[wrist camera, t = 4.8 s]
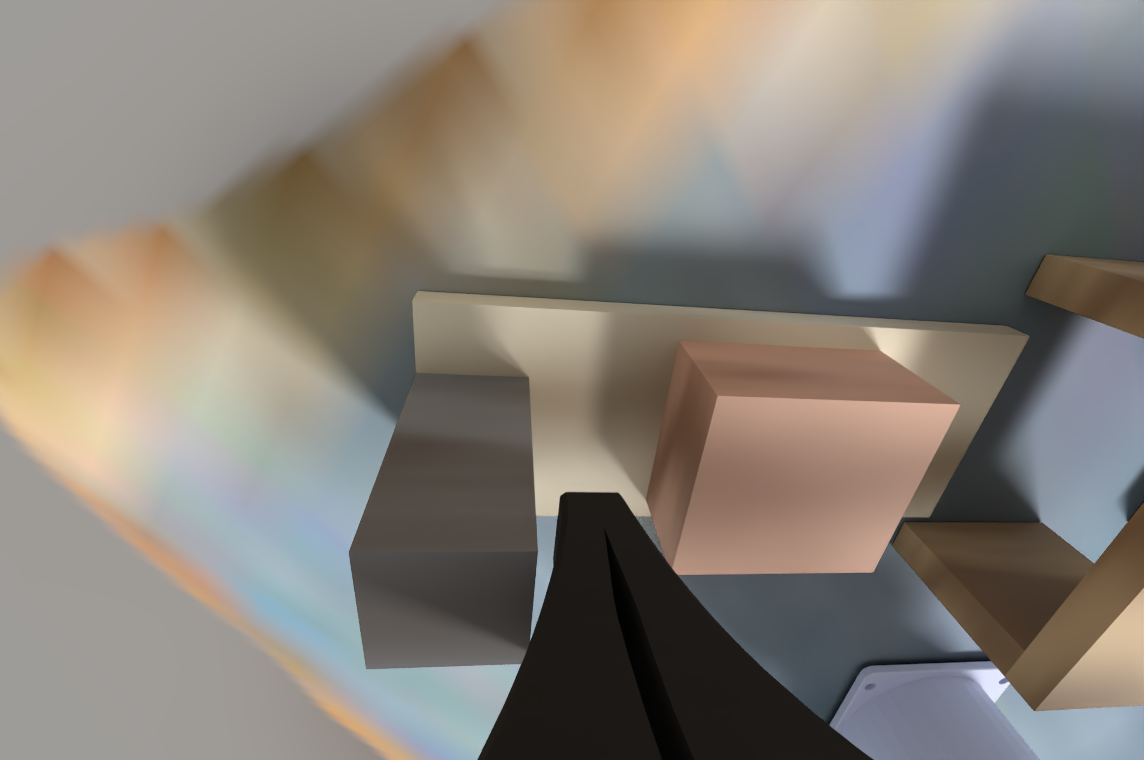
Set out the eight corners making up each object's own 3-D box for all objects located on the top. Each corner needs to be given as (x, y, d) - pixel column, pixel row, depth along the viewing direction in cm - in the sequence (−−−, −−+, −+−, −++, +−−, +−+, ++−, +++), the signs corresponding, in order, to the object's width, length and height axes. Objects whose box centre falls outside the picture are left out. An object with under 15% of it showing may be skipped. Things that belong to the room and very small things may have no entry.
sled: (913, 502, 19) (1107, 693, 13) (427, 498, 17) (375, 729, 10) (1007, 325, 16) (1327, 468, 9) (417, 291, 13) (333, 449, 7)
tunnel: (1026, 544, 21) (1209, 701, 15) (892, 545, 20) (1033, 711, 14) (1219, 268, 15) (1605, 357, 10) (1046, 254, 15) (1362, 342, 9)
